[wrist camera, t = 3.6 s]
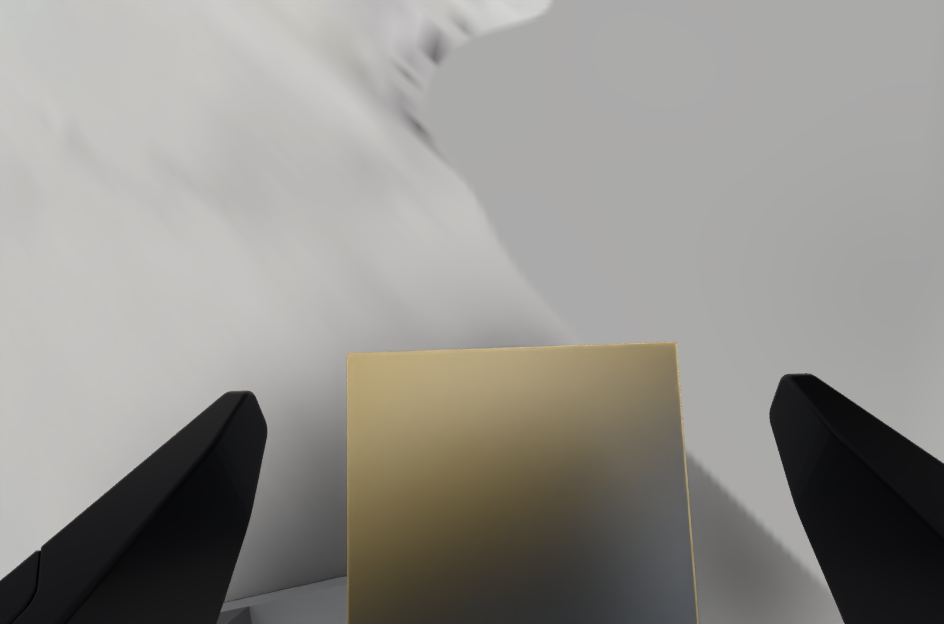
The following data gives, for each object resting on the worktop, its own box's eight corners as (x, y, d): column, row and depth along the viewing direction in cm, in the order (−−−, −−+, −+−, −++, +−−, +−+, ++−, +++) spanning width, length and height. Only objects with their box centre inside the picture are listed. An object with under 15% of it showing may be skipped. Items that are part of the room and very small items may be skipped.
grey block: (582, 509, 17) (705, 703, 6) (447, 511, 18) (347, 703, 7) (574, 373, 18) (677, 341, 7) (444, 377, 18) (347, 352, 7)
